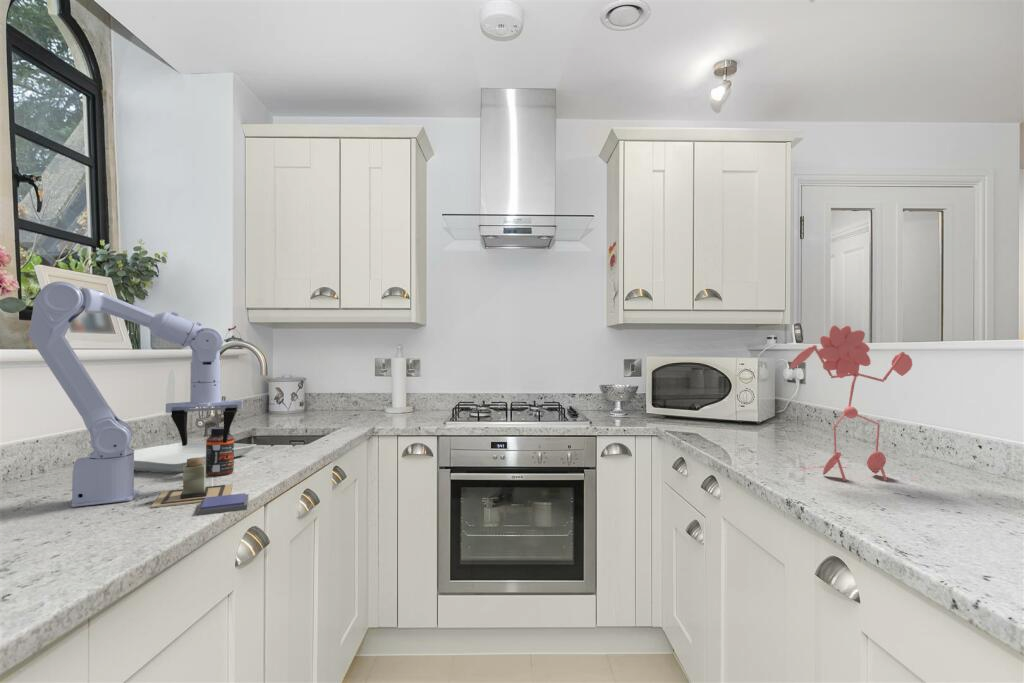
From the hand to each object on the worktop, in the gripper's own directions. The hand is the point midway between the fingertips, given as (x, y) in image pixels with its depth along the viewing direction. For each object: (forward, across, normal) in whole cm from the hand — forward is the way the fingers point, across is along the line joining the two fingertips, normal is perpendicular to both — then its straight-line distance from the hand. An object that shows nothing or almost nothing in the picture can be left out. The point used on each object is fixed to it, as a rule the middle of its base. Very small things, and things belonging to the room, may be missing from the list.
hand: (205, 443), depth 113 cm
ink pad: (+9, +5, -19) cm, 22 cm away
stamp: (+9, -1, -9) cm, 13 cm away
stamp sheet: (+9, -1, -8) cm, 12 cm away
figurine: (+10, +135, -57) cm, 147 cm away
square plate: (+10, -9, +32) cm, 35 cm away
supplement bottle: (+10, +2, +12) cm, 15 cm away
